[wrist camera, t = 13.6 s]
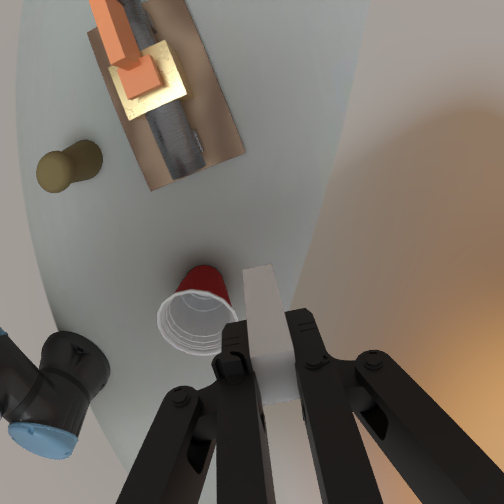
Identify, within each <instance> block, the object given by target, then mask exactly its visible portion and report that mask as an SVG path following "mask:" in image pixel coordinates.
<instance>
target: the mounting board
mask: <svg viewBox="0 0 504 504" xmlns="http://www.w3.org/2000/svg"><path fill="white" fill-rule="evenodd" d="M142 7H143V9H146V10H147V11H148V13H149V14H150V15H151V17H152V19H153V22H154V24H155V27H156V29H157V32H158V33H155V34H154V37H155V39H156V42H157V43H159V42H161V41H163V40H166V41H167V42H168V43H169V45H170V46H171V47H172V48H173V49H174V50H175V51H176V52H177V55H178V57H179V59H180V62H181V64H182V67H183V69H184V72H185V74H186V77H187V79H188V82H189V84H190V87H191V89H192V92H193V94H194V96H195V98H193V99H191V100H188V101H186V102H184V103H181V104H182V106H183V109H184V111H185V114H186V116H187V118H188V121H189V123H190V126H191V128H192V130H194V129H197V130H198V133H199V135H200V138H201V140H202V143H203V145H204V148H205V150H204V151H203V152H201V153H202V155H203V158H204V160H205V162H206V166H205V167H203V168H202V169H200V170H198V171H201V170H203V169H206V168H208V167H211V166H213V165H216V164H218V163H221V162H223V161H226V160H229V159H231V158H234V157H236V156H239V155H242V154H244V153H246V152H245V150H244V147H243V145H242V142H241V139H240V137H239V134H238V132H237V129H236V126H235V124H234V121H233V119H232V116H231V114H230V111H229V109H228V106H227V104H226V101H225V99H224V96H223V94H222V91H221V89H220V86H219V84H218V81H217V79H216V76H215V74H214V71H213V69H212V66H211V64H210V61H209V59H208V56H207V54H206V52H205V49H204V47H203V44H202V42H201V40H200V37H199V35H198V32H197V30H196V28H195V25H194V23H193V20H192V18H191V16H190V13H189V11H188V9H187V6H186V4H185V2H184V0H149V1H147V2H145V3H143V4H142ZM87 34H88V37H89V40H90V43H91V46H92V49H93V51H94V54H95V57H96V60H97V62H98V65H99V68H100V70H101V73H102V76H103V78H104V81H105V84H106V86H107V89H108V91H109V94H110V97H111V99H112V102H113V104H114V107H115V109H116V112H117V114H118V116H119V119H120V121H121V124H122V126H123V129H124V131H125V133H126V136H127V138H128V141H129V143H130V145H131V148H132V150H133V152H134V155H135V157H136V159H137V162H138V164H139V166H140V168H141V171H142V173H143V175H144V177H145V180H146V182H147V184H148V186H149V188H150V191H153V190H156V189H158V188H160V187H163V186H165V185H167V184H169V183H172V182H174V181H176V180H179V179H181V178H179V179H176V180H172V178H171V175H170V173H169V171H168V169H167V166H166V164H165V162H164V159H163V157H162V155H161V152H160V150H159V148H158V145H157V143H156V140H155V138H154V136H153V133H152V131H151V129H150V126H149V124H148V121H147V119H142V120H131V121H129V120H128V117H127V115H126V112H125V110H124V107H123V105H122V102H121V100H120V97H119V95H118V92H117V90H116V87H115V85H114V82H113V79H112V77H111V74H110V72H109V69H108V68H109V67H110V66H112V65H111V64H110V61H109V58H108V56H107V53H106V50H105V47H104V44H103V41H102V38H101V36H100V33H99V30H98V27H96V28H94V29H93V30H91V31H89V32H87ZM198 171H196V172H198ZM196 172H194V173H196ZM191 174H193V173H191ZM191 174H189V175H191ZM187 176H188V175H187ZM184 177H186V176H184ZM184 177H182V178H184Z"/></svg>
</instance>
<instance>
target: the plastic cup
mask: <svg viewBox="0 0 504 504" xmlns="http://www.w3.org/2000/svg"><path fill="white" fill-rule="evenodd" d="M232 322H238V318H237V315H236V312H235V310H234V309H233V308H232V306H231V303H230V300H229V296H228V293H227V289H226V287H225V284H224V281H223V279H222V276H221V274H220V273H219V272H218V271H217V270H216V269H215V268H213V267H211V266H206V265H201V266H197V267H195V268H193V269H192V270H191V271H190V272H188V274H187V276H186V277H185V278H184V279H183V281H182V282H181V284H180V285H179V287H178V289H177V290H176V292H175V293H174V294H173V295H171V296H170V297H168V298H167V299H166V300H164V301H163V302H162V304H161V306H160V308H159V310H158V312H157V326H158V328H159V330H160V332H161V334H162V336H163V338H164V339H165V340H167V341H168V342H169V343H170V344H171V345H172V346H173V347H174V348H176V349H179V350H181V351H183V352H185V353H188V354H192V355H200V356H208V355H214V354H219V353H221V347H222V346H221V341H222V330H223V328H224V327H225V325H226V323H232Z"/></svg>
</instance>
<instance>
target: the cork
mask: <svg viewBox="0 0 504 504" xmlns="http://www.w3.org/2000/svg"><path fill="white" fill-rule="evenodd" d="M102 162H103V159H102V153H101V150H100V148H99V147H98V145H97V144H95V143H94V142H93V141H89V140H81V141H79V142H77V143H75V144H73V145H71V146H70V147H68V148H67V149H65V150H63V151H62V152H61V151H52V152H49V153H47V154H45V155H44V156H43V157H42V158H41V160H40V161H39V163H38V165H37V171H36V176H37V180H38V183H39V185H40V186H41V187H42V188H43V189H44V190H45V191H47V192H50V193H59V192H61V191H63V190H65V189H66V188H67V187H68V186H69V185H70V184H71V183H74V182H78V181H83V180H88V179H91V178H93V177H94V176H96V175H97V174H98V172H99V171H100V169H101V166H102Z"/></svg>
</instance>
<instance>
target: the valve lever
mask: <svg viewBox="0 0 504 504" xmlns="http://www.w3.org/2000/svg"><path fill="white" fill-rule="evenodd" d="M89 2H90V5H91V9H92V12H93V15H94V18H95V21H96V24H97V27H98V30H99V33H100V36H101V38H102V41H103V44H104V47H105V50H106V53H107V56H108V58H109V61H110V64H111V65H113V66H116V67H119V68H118V69H116V70H117V72H118V75H119V78H120V80H121V83H122V86H123V88H124V91H125V94H126V96H127V99H128V100H134V99H136V98H138V97H140V96H142V95H144V94H146V93H148V92H151V91H153V90H155V89H157V88H159V87H162V86H164V85H163V83H162V80H161V77H160V75H159V72H158V70H157V67H156V65H155V62H154V59H153V57H152V56H151V55H150V54H147V55H145V56H143V57H141V54H140V51H139V49H138V46H137V43H136V41H135V38H134V35H133V32H132V30H131V27H130V24H129V22H128V19H127V16H126V13H125V10H124V8H123V6H124V5H126V4H125V1H124V0H89Z"/></svg>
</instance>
